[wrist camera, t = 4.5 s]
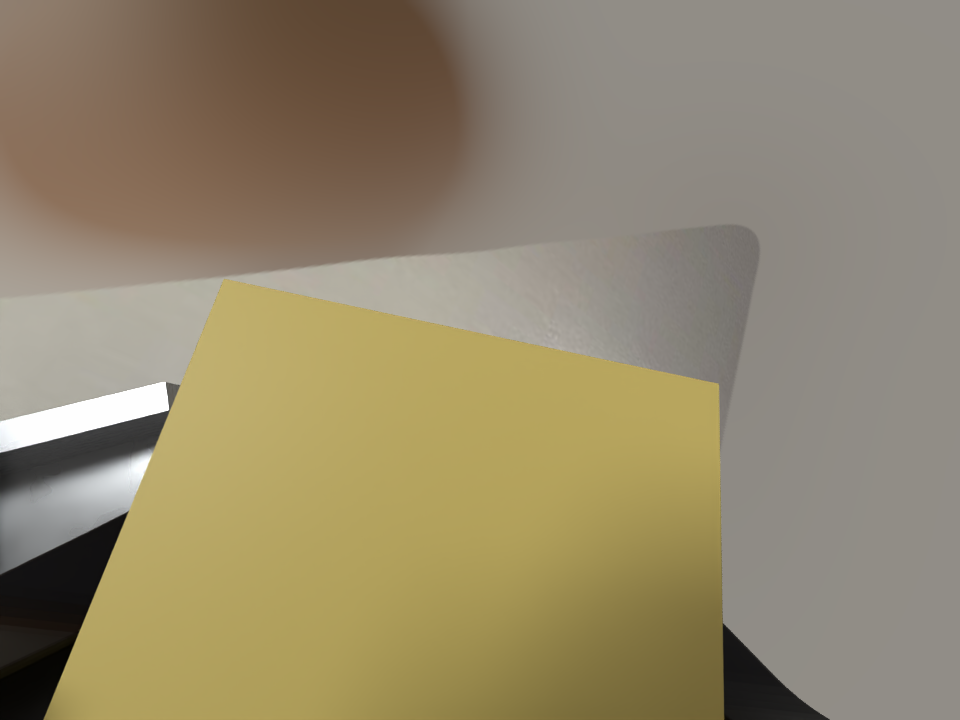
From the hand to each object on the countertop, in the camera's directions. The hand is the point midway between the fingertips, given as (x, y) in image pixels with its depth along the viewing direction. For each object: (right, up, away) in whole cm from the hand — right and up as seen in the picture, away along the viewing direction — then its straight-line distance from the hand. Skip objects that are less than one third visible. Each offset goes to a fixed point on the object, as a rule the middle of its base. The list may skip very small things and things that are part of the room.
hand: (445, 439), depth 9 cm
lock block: (-1, -3, +6) cm, 7 cm away
